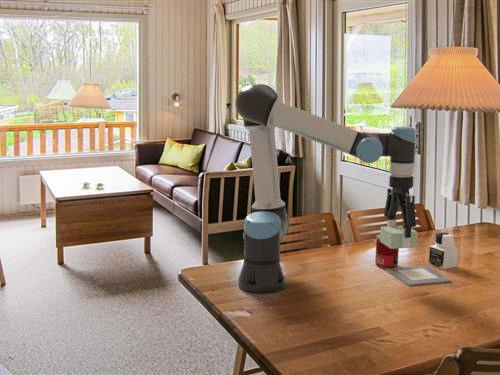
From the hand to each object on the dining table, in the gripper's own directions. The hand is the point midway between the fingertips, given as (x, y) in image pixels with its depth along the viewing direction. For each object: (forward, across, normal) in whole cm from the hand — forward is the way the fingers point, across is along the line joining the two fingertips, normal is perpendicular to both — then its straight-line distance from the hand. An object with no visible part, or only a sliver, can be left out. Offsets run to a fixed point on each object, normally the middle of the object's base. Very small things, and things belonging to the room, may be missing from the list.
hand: (398, 242), depth 192 cm
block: (+1, 0, 0) cm, 1 cm away
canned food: (+14, +18, -6) cm, 23 cm away
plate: (+14, +5, -11) cm, 18 cm away
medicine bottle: (+14, +13, -26) cm, 32 cm away
